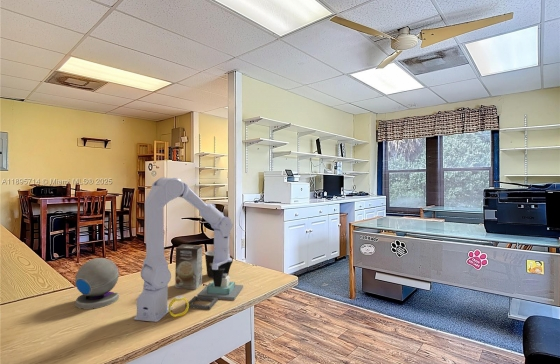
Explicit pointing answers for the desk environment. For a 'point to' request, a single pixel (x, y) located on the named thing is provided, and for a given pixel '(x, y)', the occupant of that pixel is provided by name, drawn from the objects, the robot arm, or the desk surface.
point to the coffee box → (188, 266)
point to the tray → (202, 300)
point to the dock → (221, 291)
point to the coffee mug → (210, 261)
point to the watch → (178, 298)
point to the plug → (225, 281)
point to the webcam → (96, 283)
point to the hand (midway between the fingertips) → (221, 282)
